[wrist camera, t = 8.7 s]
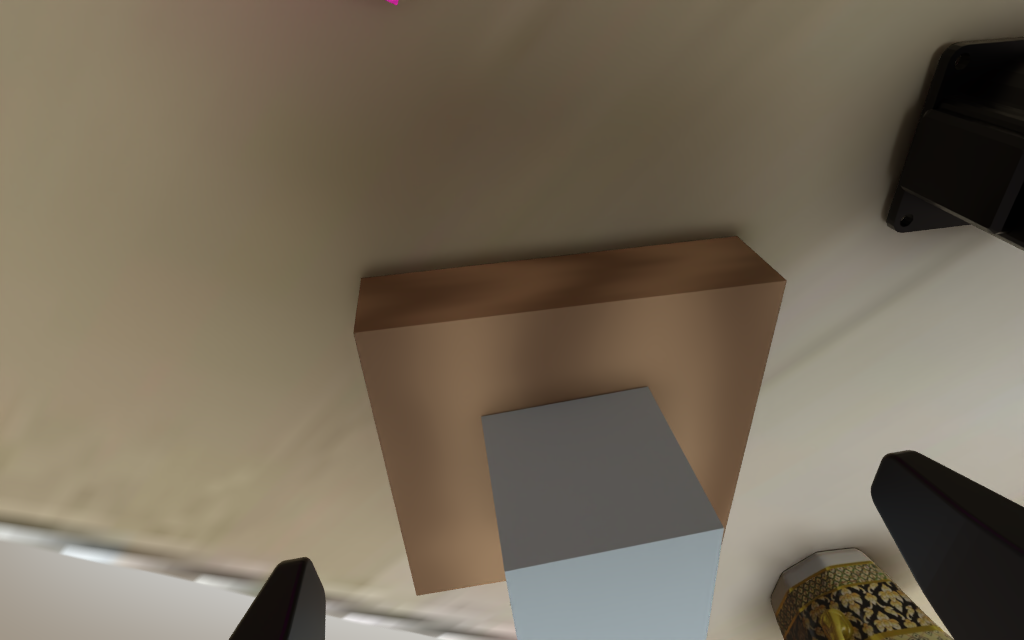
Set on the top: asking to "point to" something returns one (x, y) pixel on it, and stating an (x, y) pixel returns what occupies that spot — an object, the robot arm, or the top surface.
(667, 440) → the slate cube
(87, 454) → the top surface
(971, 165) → the robot arm
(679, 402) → the walnut slab
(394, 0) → the toy block
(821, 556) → the ceramic cup
